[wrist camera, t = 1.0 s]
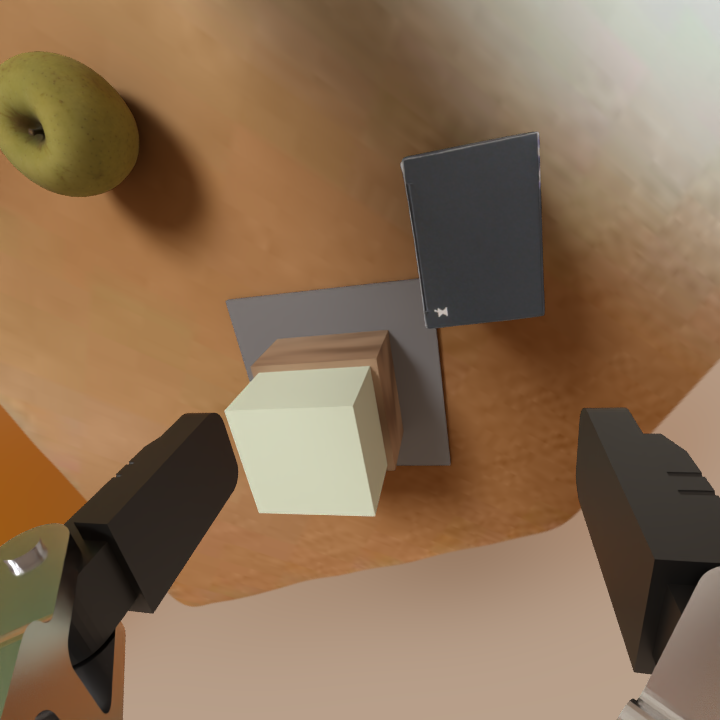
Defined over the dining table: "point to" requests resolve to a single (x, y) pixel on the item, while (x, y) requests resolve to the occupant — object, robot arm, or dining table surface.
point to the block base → (342, 354)
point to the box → (478, 230)
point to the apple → (65, 125)
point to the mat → (362, 314)
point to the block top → (311, 441)
